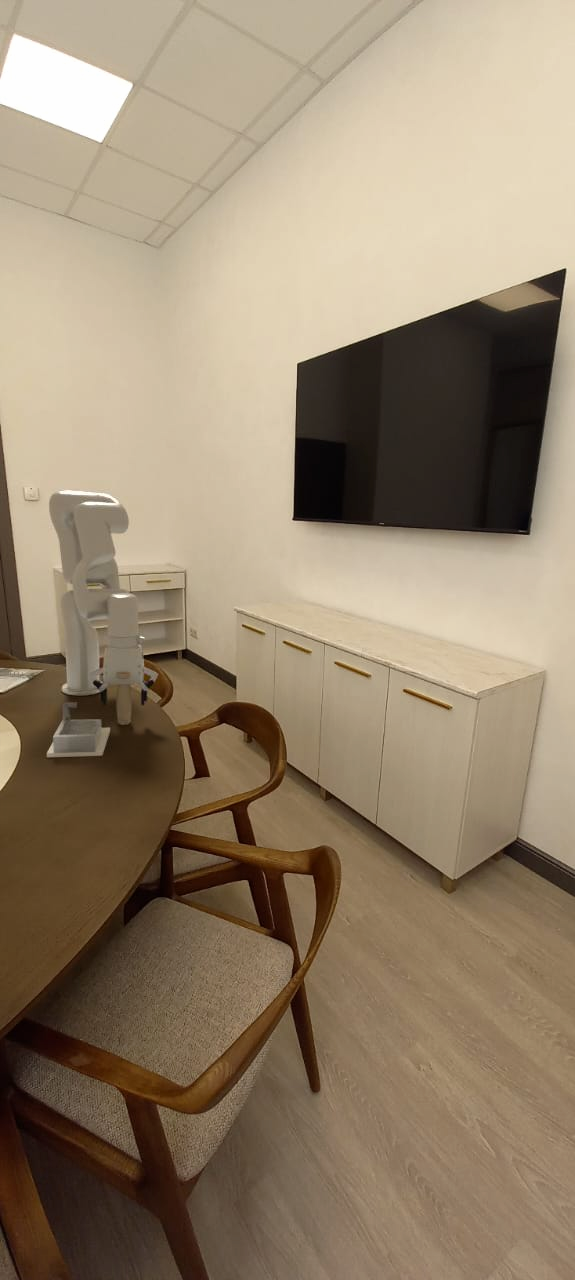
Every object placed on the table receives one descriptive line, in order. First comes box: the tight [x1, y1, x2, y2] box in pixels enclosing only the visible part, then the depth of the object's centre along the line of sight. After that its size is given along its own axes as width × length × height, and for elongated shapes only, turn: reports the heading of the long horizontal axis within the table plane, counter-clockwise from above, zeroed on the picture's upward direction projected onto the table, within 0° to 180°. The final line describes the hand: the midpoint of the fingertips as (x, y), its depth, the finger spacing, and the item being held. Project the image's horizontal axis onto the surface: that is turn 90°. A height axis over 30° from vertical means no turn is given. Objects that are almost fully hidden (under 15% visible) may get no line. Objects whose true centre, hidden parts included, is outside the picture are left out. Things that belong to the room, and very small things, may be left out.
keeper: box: [46, 701, 111, 758], centre depth 124 cm, size 14×12×9 cm
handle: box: [115, 673, 133, 726], centre depth 137 cm, size 5×6×15 cm
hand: (124, 703), depth 137 cm, fingers open, 9 cm apart
